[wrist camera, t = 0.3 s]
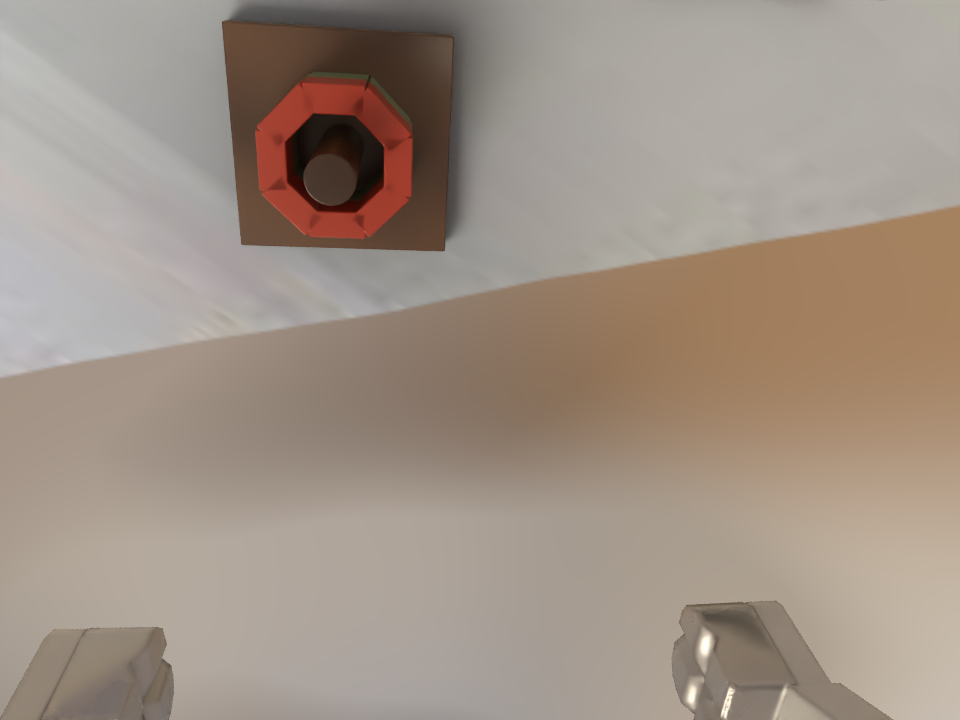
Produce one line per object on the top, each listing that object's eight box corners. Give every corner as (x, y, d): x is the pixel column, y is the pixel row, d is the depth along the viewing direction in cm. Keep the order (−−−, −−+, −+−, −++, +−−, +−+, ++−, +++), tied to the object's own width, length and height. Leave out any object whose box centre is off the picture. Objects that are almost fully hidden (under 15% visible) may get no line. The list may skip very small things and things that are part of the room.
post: (227, 19, 32) (178, 29, 25) (452, 34, 33) (466, 47, 26) (245, 237, 37) (208, 297, 30) (443, 244, 38) (453, 303, 31)
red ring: (259, 73, 30) (250, 78, 29) (413, 82, 31) (414, 88, 29) (269, 222, 33) (262, 236, 31) (410, 227, 34) (410, 240, 32)
